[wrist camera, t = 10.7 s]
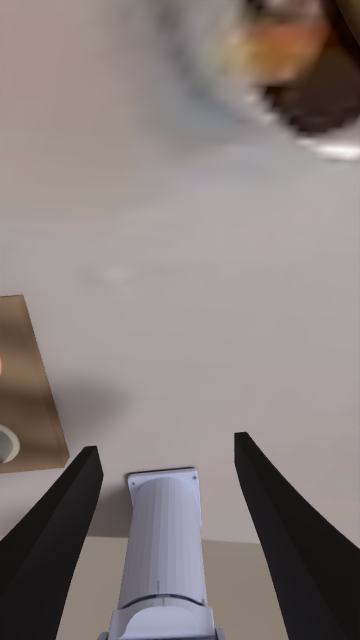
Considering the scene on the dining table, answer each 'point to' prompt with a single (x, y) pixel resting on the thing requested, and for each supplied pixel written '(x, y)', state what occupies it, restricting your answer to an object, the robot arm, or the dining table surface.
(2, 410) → the board
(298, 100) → the dining table surface
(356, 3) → the wooden plate with food
